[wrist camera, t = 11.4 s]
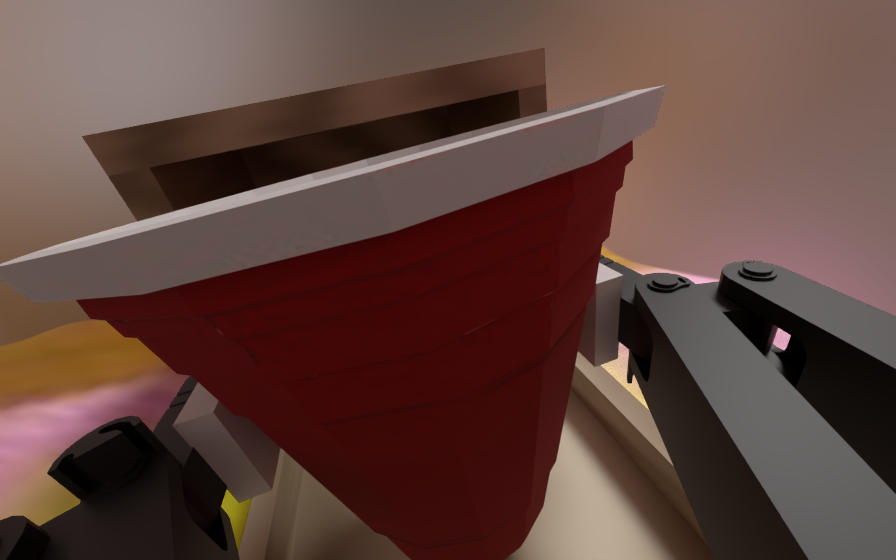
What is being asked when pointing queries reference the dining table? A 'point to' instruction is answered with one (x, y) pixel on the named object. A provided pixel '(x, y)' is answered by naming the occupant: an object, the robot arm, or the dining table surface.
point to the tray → (565, 507)
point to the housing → (312, 131)
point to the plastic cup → (386, 314)
